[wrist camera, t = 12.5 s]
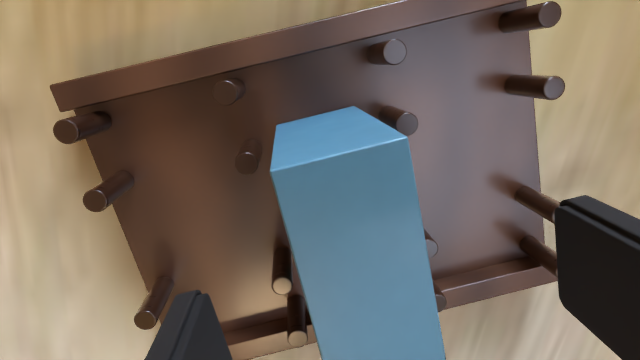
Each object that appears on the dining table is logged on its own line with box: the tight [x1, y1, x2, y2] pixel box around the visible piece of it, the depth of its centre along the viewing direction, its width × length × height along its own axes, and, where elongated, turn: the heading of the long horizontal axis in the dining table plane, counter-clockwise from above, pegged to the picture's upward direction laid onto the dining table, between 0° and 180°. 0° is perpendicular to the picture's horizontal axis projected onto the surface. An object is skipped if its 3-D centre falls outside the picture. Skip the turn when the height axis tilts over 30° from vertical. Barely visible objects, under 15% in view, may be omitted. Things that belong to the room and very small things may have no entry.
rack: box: [50, 0, 565, 360], centre depth 20 cm, size 22×16×4 cm
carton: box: [270, 106, 446, 360], centre depth 17 cm, size 8×4×9 cm, turn 13°
